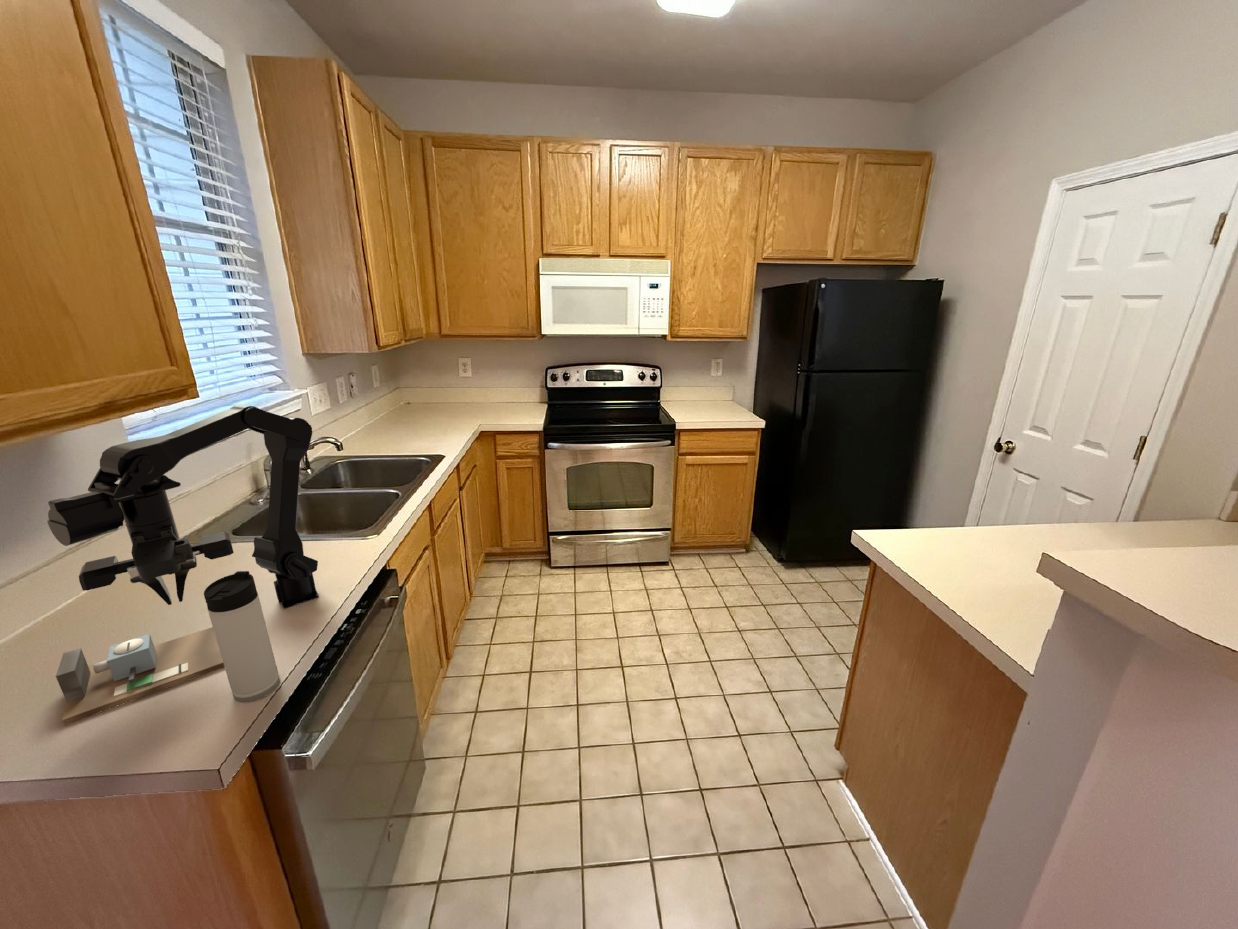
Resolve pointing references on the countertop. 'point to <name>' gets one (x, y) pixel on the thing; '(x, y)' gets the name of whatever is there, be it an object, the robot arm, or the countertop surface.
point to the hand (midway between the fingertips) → (175, 602)
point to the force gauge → (129, 658)
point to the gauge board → (102, 692)
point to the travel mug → (242, 636)
